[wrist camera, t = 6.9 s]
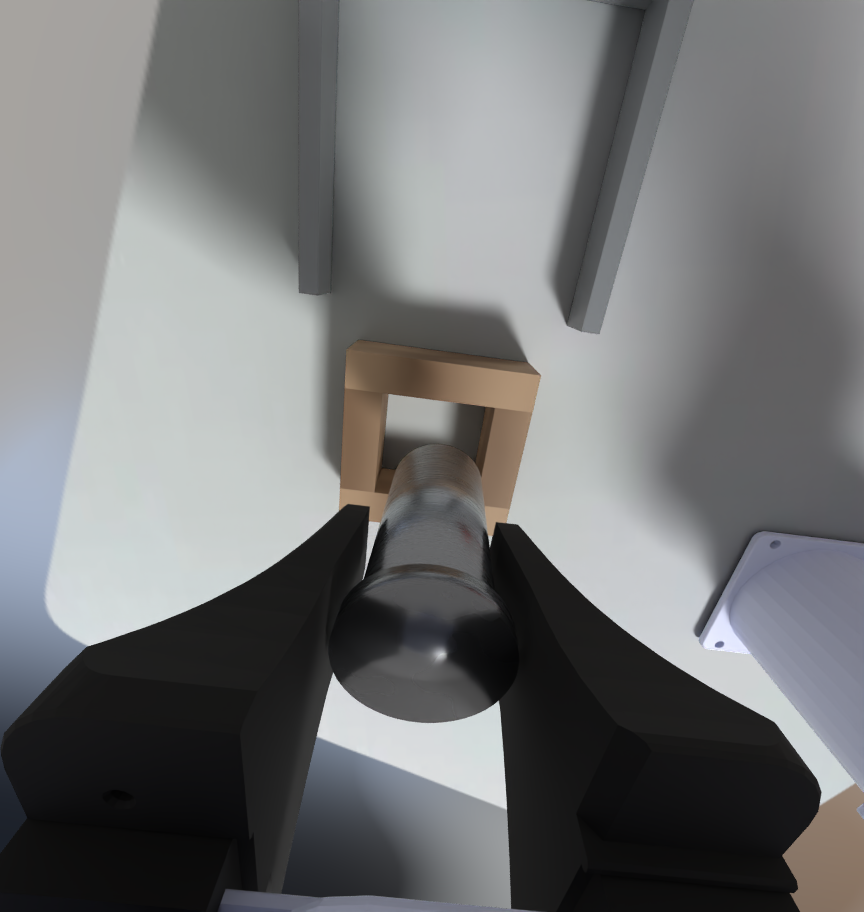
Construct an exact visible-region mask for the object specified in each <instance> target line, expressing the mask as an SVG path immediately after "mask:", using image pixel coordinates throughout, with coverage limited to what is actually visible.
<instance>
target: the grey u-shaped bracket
mask: <svg viewBox="0 0 864 912" xmlns="http://www.w3.org/2000/svg"><path fill="white" fill-rule="evenodd" d="M590 1H596V2H602V3H608V4H614V5H620V6H626V7H632V8H638V9H644V10H646V11H645V15H644V19H643V23H642V27H641V31H640V35H639V39H638V43H637V47H636V51H635V55H634V59H633V63H632V67H631V71H630V75H629V79H628V83H627V87H626V91H625V95H624V99H623V103H622V107H621V111H620V115H619V119H618V123H617V127H616V131H615V135H614V139H613V143H612V147H611V151H610V155H609V159H608V163H607V167H606V171H605V175H604V179H603V183H602V187H601V191H600V195H599V199H598V203H597V207H596V211H595V215H594V219H593V223H592V227H591V231H590V235H589V239H588V243H587V247H586V251H585V255H584V259H583V263H582V267H581V271H580V275H579V279H578V283H577V287H576V291H575V295H574V299H573V303H572V307H571V311H570V315H569V319H568V323H567V326H569V327H572V328H574V329H576V330H579V331H581V332H587V333H595V334H600V330H601V327H602V323H603V320H604V316H605V313H606V309H607V305H608V302H609V298H610V295H611V291H612V288H613V284H614V281H615V277H616V274H617V270H618V267H619V263H620V259H621V256H622V252H623V249H624V245H625V242H626V238H627V235H628V231H629V228H630V224H631V221H632V217H633V213H634V210H635V206H636V203H637V199H638V196H639V192H640V189H641V185H642V182H643V178H644V175H645V171H646V167H647V164H648V160H649V157H650V153H651V150H652V146H653V143H654V139H655V136H656V132H657V129H658V125H659V121H660V118H661V114H662V111H663V107H664V104H665V100H666V97H667V93H668V90H669V86H670V83H671V79H672V75H673V72H674V68H675V65H676V61H677V58H678V54H679V51H680V47H681V44H682V40H683V37H684V33H685V29H686V26H687V22H688V19H689V15H690V12H691V8H692V5H693V1H694V0H590ZM338 18H339V0H299V293H304V294H312V295H322V294H327V293H331V264H332V229H333V194H334V159H335V123H336V88H337V53H338Z"/></svg>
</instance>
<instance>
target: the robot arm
mask: <svg viewBox="0 0 864 912" xmlns="http://www.w3.org/2000/svg"><path fill="white" fill-rule="evenodd" d="M369 512H370V506H362V505H353V504H347V505H345V506H344V507H343V508H342V509H341V510H340V511H339V512H338V513H337V514H336V515H335V516H333V517H332V518H331V519H330V520H329V521H328V522H327V523H326V524H325V525H324V526H323V527H322V528H320V529H319V530H318V531H317V532H316V533H314V534H313V535H312V536H311V537H310V538H309V539H307V540H306V541H305V542H304V543H303V544H301V545H300V546H299V547H297V548H296V549H295V550H293V551H292V552H291V553H289V554H288V555H287V556H285V557H284V558H283V559H281V560H280V561H279V562H277V563H276V564H274V565H273V566H271V567H270V568H268V569H267V570H265V571H264V572H262V573H260V574H259V575H257V576H255V577H254V578H252V579H250V580H249V581H247V582H245V583H243V584H241V585H239V586H237V587H235V588H234V589H232V590H230V591H228V592H226V593H224V594H222V595H220V596H218V597H216V598H214V599H212V600H210V601H208V602H206V603H204V604H201V605H199V606H197V607H195V608H192V609H190V610H188V611H186V612H183V613H181V614H178V615H176V616H173V617H171V618H168V619H166V620H164V621H161V622H158V623H156V624H153V625H150V626H148V627H145V628H142V629H139V630H136V631H133V632H130V633H127V634H124V635H121V636H119V637H116V638H113V639H110V640H107V641H104V642H101V643H98V644H94V645H91V646H88V647H86V648H85V649H84V650H83V651H82V652H81V653H80V654H79V655H78V656H77V657H76V658H75V659H74V660H73V661H72V662H71V663H70V664H69V665H68V666H66V667H65V668H64V669H63V670H62V672H61V673H60V674H59V675H58V676H57V677H56V678H55V679H54V680H53V681H52V682H51V684H49V685H48V686H47V688H46V689H45V690H44V691H43V692H42V693H41V694H40V695H39V696H38V697H37V698H36V699H35V700H34V701H33V702H32V704H31V705H30V706H29V707H28V708H27V709H26V710H25V711H24V712H23V713H22V714H21V715H20V716H19V717H18V719H17V720H16V721H15V722H14V723H13V724H12V725H11V726H10V727H9V729H8V730H7V731H6V732H5V733H4V736H3V741H2V744H1V756H2V760H3V764H4V768H5V771H6V773H7V775H8V777H9V780H10V782H11V784H12V786H13V788H14V790H15V792H16V795H17V797H18V799H19V801H20V803H21V805H22V807H23V809H24V812H25V814H26V816H27V819H26V821H25V822H24V823H23V824H22V826H21V827H20V829H19V830H18V831H17V832H16V834H15V835H14V836H13V838H12V839H11V840H10V842H9V843H8V844H7V846H6V847H5V848H4V850H3V851H2V852H1V853H0V912H800V911H799V909H798V907H797V906H796V904H795V902H794V900H793V898H792V896H791V895H790V893H794V892H796V890H797V889H798V886H797V881H796V879H795V877H794V876H793V874H792V873H791V870H790V869H789V867H788V865H787V863H786V862H785V860H784V858H783V857H782V855H783V854H784V853H785V851H786V850H787V849H788V848H789V847H790V846H791V845H792V843H793V842H794V841H795V840H796V839H797V838H798V837H799V836H800V835H801V834H802V832H803V831H804V830H805V829H806V828H807V827H808V826H809V825H810V823H811V821H812V820H813V819H814V817H815V815H816V814H817V812H818V809H819V804H820V798H821V790H820V787H819V784H818V781H817V779H816V777H815V776H814V775H813V773H812V772H811V771H810V769H809V768H808V767H807V765H806V764H805V763H804V761H803V760H802V759H801V757H800V756H799V754H798V753H797V752H796V750H795V749H794V748H793V746H792V745H791V744H790V742H789V741H788V740H787V738H786V737H785V736H784V734H783V733H782V731H781V730H780V729H779V727H778V726H777V725H776V724H775V722H773V721H771V720H769V719H768V718H766V717H764V716H762V715H760V714H758V713H756V712H755V711H753V710H751V709H749V708H747V707H745V706H743V705H742V704H740V703H738V702H736V701H734V700H732V699H731V698H729V697H727V696H725V695H723V694H721V693H719V692H718V691H716V690H714V689H712V688H711V687H709V686H707V685H706V684H704V683H702V682H701V681H699V680H697V679H696V678H694V677H692V676H691V675H689V674H688V673H686V672H684V671H683V670H681V669H679V668H678V667H676V666H675V665H673V664H672V663H670V662H669V661H667V660H666V659H664V658H663V657H661V656H660V655H658V654H657V653H655V652H654V651H652V650H651V649H650V648H648V647H647V646H645V645H644V644H643V643H641V642H640V641H638V640H637V639H636V638H634V637H633V636H631V635H630V634H629V633H627V632H626V631H625V630H624V629H622V628H621V627H620V626H618V625H617V624H616V623H615V622H613V621H612V620H611V619H610V618H609V617H607V616H606V615H605V614H604V613H603V612H601V611H600V610H599V609H598V608H597V607H595V606H594V605H593V604H592V603H591V602H590V601H589V600H588V599H587V598H585V597H584V596H583V595H582V594H581V593H580V592H579V591H578V590H577V589H576V588H575V587H574V586H573V585H572V584H571V583H570V582H569V581H568V580H567V579H566V578H565V577H564V576H563V575H562V574H561V573H560V572H559V571H558V570H557V569H556V567H555V566H554V565H553V564H552V563H551V562H550V561H549V560H548V559H547V558H546V556H545V555H544V554H543V553H542V552H541V551H540V550H539V548H538V547H537V546H536V545H535V544H534V543H533V541H532V540H531V539H530V538H529V537H528V536H527V534H526V533H525V532H524V531H523V530H522V529H521V528H520V527H519V526H518V525H516V524H508V523H500V522H496V524H495V528H494V533H493V537H492V541H491V546H490V556H491V564H492V572H493V580H494V589H495V592H496V593H497V594H498V595H499V596H500V597H501V598H502V599H503V601H504V602H505V604H506V605H507V607H508V609H509V611H510V613H511V615H512V618H513V622H514V626H515V632H516V638H517V644H518V650H519V668H518V672H517V676H516V678H515V680H514V682H513V684H512V686H511V687H510V689H509V690H508V692H507V693H506V694H505V695H504V696H503V697H502V698H501V699H500V700H499V704H500V712H501V725H502V738H503V751H504V766H505V781H506V797H507V814H508V835H509V856H510V886H511V909H507V908H496V907H486V906H475V905H464V904H453V903H443V902H431V901H421V900H411V899H400V898H390V897H379V896H346V897H324V898H317V897H307V896H297V895H286V894H281V891H282V887H283V882H284V878H285V873H286V868H287V863H288V859H289V855H290V849H291V845H292V841H293V836H294V832H295V827H296V823H297V818H298V814H299V810H300V805H301V801H302V796H303V792H304V788H305V783H306V779H307V774H308V770H309V766H310V762H311V757H312V753H313V749H314V745H315V740H316V736H317V732H318V728H319V724H320V720H321V715H322V711H323V707H324V703H325V699H326V695H327V691H328V688H329V684H330V681H331V678H332V674H333V670H332V668H331V665H330V661H329V656H328V644H329V639H330V635H331V632H332V629H333V626H334V623H335V620H336V617H337V614H338V611H339V609H340V606H341V604H342V602H343V600H344V599H345V597H346V596H347V594H348V593H349V592H350V591H351V590H352V589H353V588H354V587H355V586H356V585H357V584H358V583H359V582H361V581H362V579H363V575H364V570H365V563H366V550H367V537H368V525H369ZM773 541H774V542H773ZM772 542H773V543H772ZM699 643H700V644H701V645H702V647H703V648H705V649H710V650H719V651H728V652H737V653H746V654H752V656H753V657H754V658H755V659H756V661H757V662H758V663H759V664H760V665H761V667H762V668H763V669H764V670H765V672H766V673H767V674H768V675H769V677H770V678H771V679H772V680H773V682H774V683H775V684H776V685H777V686H778V688H779V689H780V690H781V691H782V693H783V694H784V695H785V696H786V698H787V699H788V700H789V701H790V702H791V704H792V705H793V706H794V707H795V709H796V710H797V711H798V712H799V714H800V715H801V716H802V717H803V718H804V720H805V721H806V722H807V723H808V725H809V726H810V727H811V728H812V730H813V731H814V732H815V733H816V734H817V736H818V737H819V738H820V739H821V741H822V742H823V743H824V744H825V746H826V747H827V748H828V749H829V750H830V752H831V753H832V754H833V755H834V757H835V758H836V759H837V760H838V762H839V763H840V764H841V765H842V766H843V768H844V769H845V770H846V771H847V773H848V774H849V775H850V776H851V778H852V779H853V780H854V781H855V783H856V784H857V785H858V786H859V787H860V789H861V790H862V791H863V792H864V543H856V542H848V541H840V540H832V539H824V538H816V537H808V536H799V535H791V534H783V533H775V532H767V531H762V532H759V533H757V534H755V535H754V536H753V537H752V539H751V541H750V543H749V545H748V546H747V548H746V550H745V552H744V554H743V556H742V558H741V560H740V562H739V563H738V565H737V567H736V569H735V571H734V573H733V575H732V577H731V579H730V581H729V582H728V584H727V586H726V588H725V590H724V592H723V594H722V596H721V598H720V599H719V601H718V603H717V605H716V607H715V609H714V611H713V613H712V615H711V617H710V618H709V620H708V622H707V624H706V626H705V628H704V630H703V632H702V634H701V635H700V637H699ZM857 811H858V813H859V814H860V815H861V817H862V818H863V819H864V803H863V804H862V805H861V806H859V807H858V808H857Z"/></svg>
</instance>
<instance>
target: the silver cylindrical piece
mask: <svg viewBox="0 0 864 912" xmlns="http://www.w3.org/2000/svg"><path fill="white" fill-rule="evenodd" d="M328 656H329V661H330V665H331V668H332V670H333V673H334V674H335V676H336V678H337V680H338V681H339V682H340V684H341V685H342V686H343V688H344V689H345V690H346V691H347V692H348V693H349V694H350V695H351V696H353V697H354V698H355V699H356V700H358V701H359V702H361V703H362V704H364V705H365V706H367V707H369V708H371V709H373V710H375V711H377V712H379V713H382V714H384V715H387V716H390V717H393V718H397V719H401V720H406V721H412V722H421V723H439V722H448V721H455V720H459V719H463V718H467V717H470V716H473V715H475V714H478V713H480V712H482V711H484V710H486V709H487V708H489V707H491V706H492V705H494V704H495V703H496V702H497V701H499V700H500V699H501V698H502V697H503V696H504V695H505V694H506V693H507V692H508V690H509V689H510V687H511V686H512V684H513V682H514V680H515V678H516V676H517V672H518V668H519V650H518V644H517V638H516V632H515V626H514V622H513V618H512V615H511V613H510V611H509V609H508V607H507V605H506V604H505V602H504V601H503V599H502V598H501V597H500V596H499V595H498V594H497V593H496V592H495V589H494V580H493V572H492V564H491V556H490V547H489V539H488V531H487V523H486V514H485V506H484V498H483V490H482V481H481V475H480V472H479V470H478V467H477V466H476V464H475V462H474V461H473V460H472V459H471V458H470V457H469V456H468V455H467V454H466V453H464V452H463V451H461V450H459V449H457V448H455V447H452V446H448V445H443V444H430V445H425V446H421V447H419V448H416V449H414V450H413V451H411V452H410V453H408V454H407V455H406V456H405V457H404V458H403V459H402V460H401V461H400V463H399V465H398V466H397V468H396V471H395V474H394V478H393V481H392V484H391V488H390V491H389V495H388V498H387V501H386V505H385V508H384V512H383V515H382V518H381V522H380V525H379V529H378V532H377V536H376V539H375V542H374V546H373V549H372V553H371V556H370V559H369V563H368V566H367V570H366V573H365V576H364V580H362V581H361V582H359V583H358V584H357V585H356V586H355V587H354V588H353V589H352V590H351V591H350V592H349V593H348V594H347V596H346V597H345V599H344V600H343V602H342V604H341V606H340V609H339V611H338V614H337V617H336V620H335V623H334V626H333V629H332V632H331V635H330V639H329V644H328Z"/></svg>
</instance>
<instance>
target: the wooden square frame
mask: <svg viewBox="0 0 864 912" xmlns="http://www.w3.org/2000/svg"><path fill="white" fill-rule="evenodd" d="M540 378H541V375H540V374H539V373H538V372H537V371H536V370H535V369H534V368H533V367H532V366H531V365H530V364H529V363H527V362H519V361H512V360H505V359H497V358H490V357H482V356H475V355H468V354H460V353H453V352H445V351H438V350H430V349H423V348H416V347H408V346H401V345H393V344H386V343H378V342H371V341H364V340H357V341H356V342H355V343H354V344H353V345H351V346H350V347H349V348H348V349H347V350H346V369H345V392H344V414H343V436H342V458H341V480H340V503H339V511H340V510H341V509H342V508H343V507H344V506H345V505H347V504H353V505H362V506H370V512H369V521H373V522H381V518H382V515H383V512H384V508H385V505H386V501H387V498H388V495H389V491H390V488H391V484H392V481H393V478H394V474H395V471H396V470H394V469H386V468H382V460H383V449H384V438H385V426H386V415H387V404H388V394H394V395H401V396H409V397H416V398H424V399H432V400H439V401H447V402H455V403H462V404H470V405H478V406H485V407H486V408H485V414H484V419H483V424H482V429H481V435H480V440H479V445H478V451H477V456H476V461H475V464H476V466H477V467H478V470H479V472H480V475H481V481H482V490H483V498H484V506H485V514H486V523H487V531H488V535H489V536H493V533H494V528H495V524H496V522H500V523H506V522H507V517H508V513H509V509H510V505H511V501H512V496H513V492H514V488H515V484H516V479H517V475H518V471H519V467H520V463H521V458H522V454H523V450H524V446H525V441H526V437H527V433H528V429H529V425H530V420H531V416H532V412H533V408H534V403H535V399H536V395H537V391H538V387H539V382H540Z"/></svg>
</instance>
